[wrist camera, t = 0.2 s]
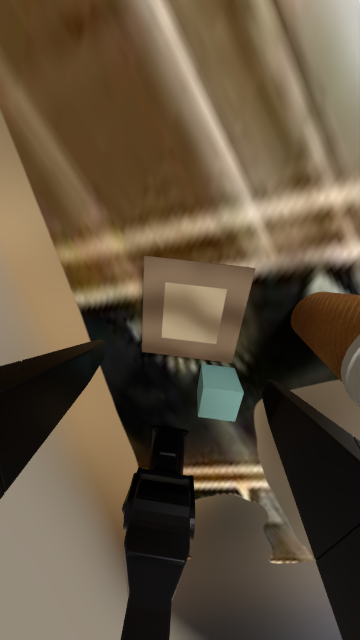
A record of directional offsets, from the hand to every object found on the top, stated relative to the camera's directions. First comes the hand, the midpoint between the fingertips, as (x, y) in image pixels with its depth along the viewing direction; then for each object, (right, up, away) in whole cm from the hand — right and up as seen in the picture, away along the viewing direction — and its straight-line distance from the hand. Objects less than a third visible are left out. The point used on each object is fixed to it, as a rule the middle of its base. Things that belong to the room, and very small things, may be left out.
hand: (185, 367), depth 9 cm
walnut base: (+1, +4, +13) cm, 14 cm away
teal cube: (+5, -7, +17) cm, 19 cm away
